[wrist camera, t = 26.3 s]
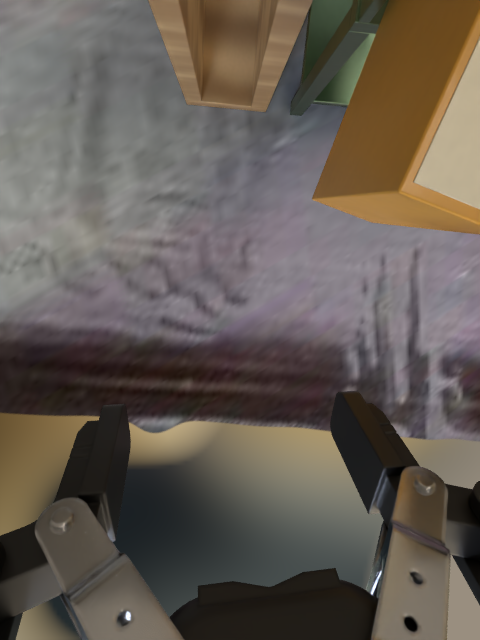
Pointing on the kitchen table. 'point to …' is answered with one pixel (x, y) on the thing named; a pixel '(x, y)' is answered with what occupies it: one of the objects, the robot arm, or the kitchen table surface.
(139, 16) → the kitchen table surface
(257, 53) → the tall stand
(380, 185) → the book
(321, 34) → the book rack
